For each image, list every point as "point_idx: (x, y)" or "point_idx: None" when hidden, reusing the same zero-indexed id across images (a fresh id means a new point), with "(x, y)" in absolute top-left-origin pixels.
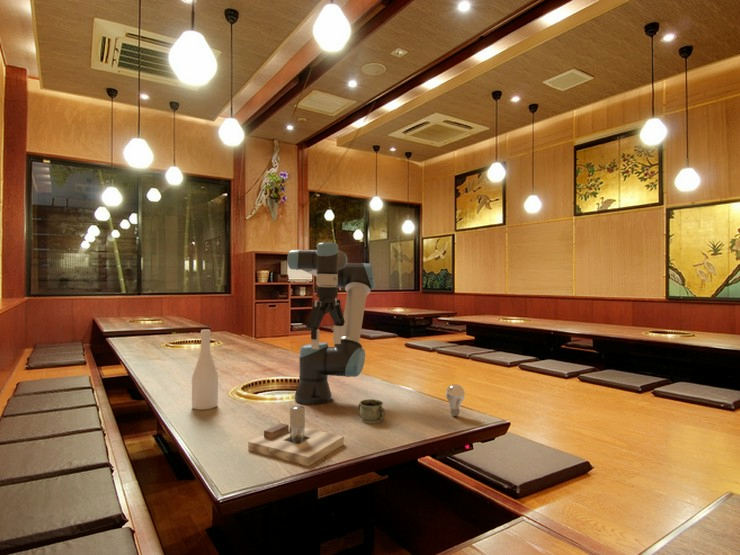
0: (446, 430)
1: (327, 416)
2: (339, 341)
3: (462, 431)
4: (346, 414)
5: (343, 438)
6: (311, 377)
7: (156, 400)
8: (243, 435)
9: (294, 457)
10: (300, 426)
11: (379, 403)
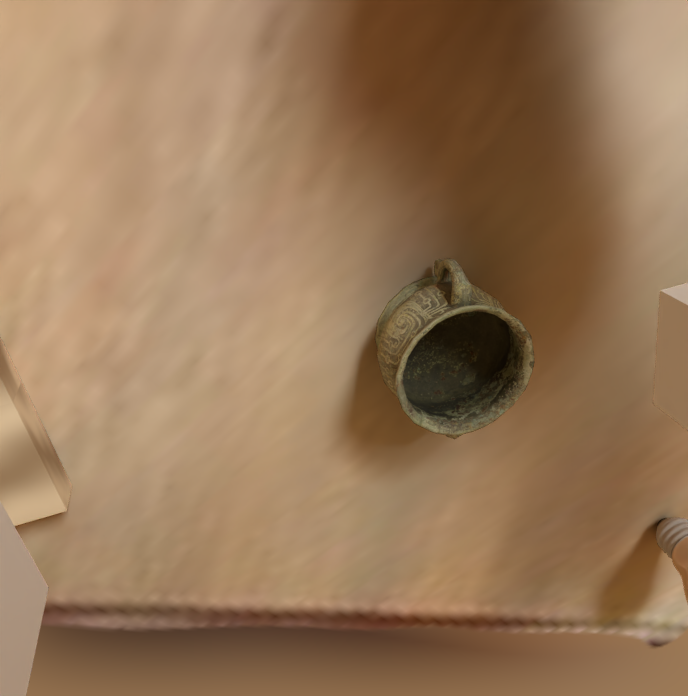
0: (499, 595)
1: (309, 103)
2: (684, 423)
3: (521, 626)
4: (416, 167)
5: (65, 504)
6: None
7: None
8: None
9: None
10: None
11: (515, 371)
